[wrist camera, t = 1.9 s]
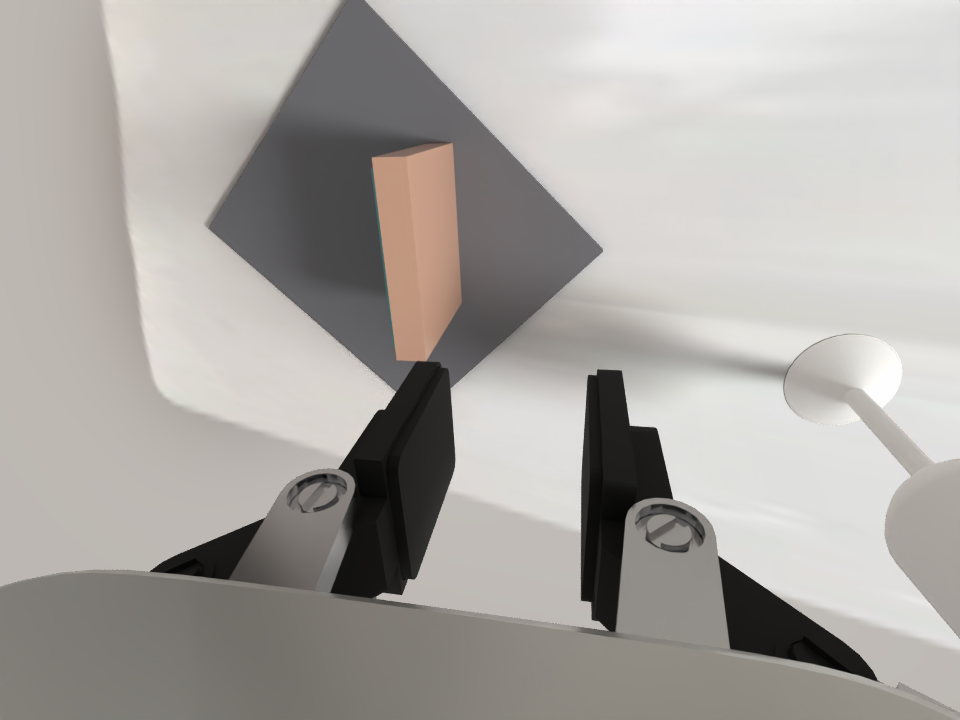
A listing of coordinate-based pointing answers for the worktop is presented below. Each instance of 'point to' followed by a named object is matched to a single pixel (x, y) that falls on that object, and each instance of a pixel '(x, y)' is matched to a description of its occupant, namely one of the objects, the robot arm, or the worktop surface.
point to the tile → (418, 244)
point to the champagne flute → (931, 487)
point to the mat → (352, 211)
